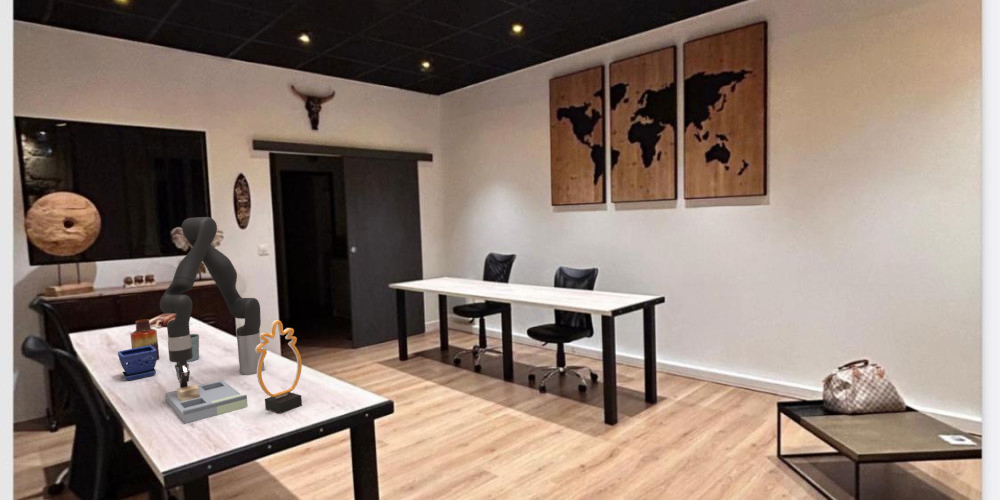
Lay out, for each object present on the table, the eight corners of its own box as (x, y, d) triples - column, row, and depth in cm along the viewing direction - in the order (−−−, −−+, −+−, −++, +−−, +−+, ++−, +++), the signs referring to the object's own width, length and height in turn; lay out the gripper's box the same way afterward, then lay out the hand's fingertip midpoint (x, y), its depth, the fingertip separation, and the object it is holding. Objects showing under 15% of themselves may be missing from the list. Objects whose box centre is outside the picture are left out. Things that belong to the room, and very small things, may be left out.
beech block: (195, 393, 197) (195, 384, 197) (200, 397, 193) (199, 387, 193) (177, 397, 193) (176, 388, 193) (181, 401, 189) (180, 392, 189)
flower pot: (123, 383, 224) (120, 356, 223) (119, 376, 234) (117, 350, 233) (159, 375, 232) (157, 349, 231) (154, 369, 242) (152, 344, 241)
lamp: (269, 417, 178) (261, 326, 175) (254, 413, 183) (247, 324, 180) (311, 401, 192) (305, 317, 189) (297, 397, 197) (290, 315, 194)
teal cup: (187, 357, 262) (185, 333, 261) (205, 357, 260) (203, 333, 259) (172, 363, 252) (170, 338, 251) (191, 363, 250) (189, 338, 249)
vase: (149, 363, 253) (145, 322, 251) (127, 364, 253) (123, 323, 252) (164, 357, 264) (160, 317, 262) (143, 357, 264) (139, 318, 262)
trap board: (222, 386, 213) (222, 376, 213) (247, 406, 189) (246, 395, 189) (165, 400, 200) (164, 389, 199) (184, 423, 176) (183, 411, 176)
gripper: (195, 348, 193) (199, 393, 194) (187, 342, 202) (191, 385, 204) (172, 352, 188) (176, 399, 189) (165, 346, 197) (169, 390, 199)
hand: (184, 392), depth 197 cm, fingers closed
